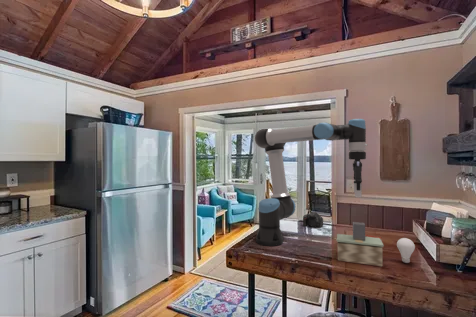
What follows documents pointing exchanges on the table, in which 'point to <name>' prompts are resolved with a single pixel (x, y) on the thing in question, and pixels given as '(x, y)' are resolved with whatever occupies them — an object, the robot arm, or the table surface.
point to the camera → (312, 220)
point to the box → (360, 253)
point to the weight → (358, 231)
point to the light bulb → (405, 249)
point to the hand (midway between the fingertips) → (357, 195)
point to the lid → (368, 240)
